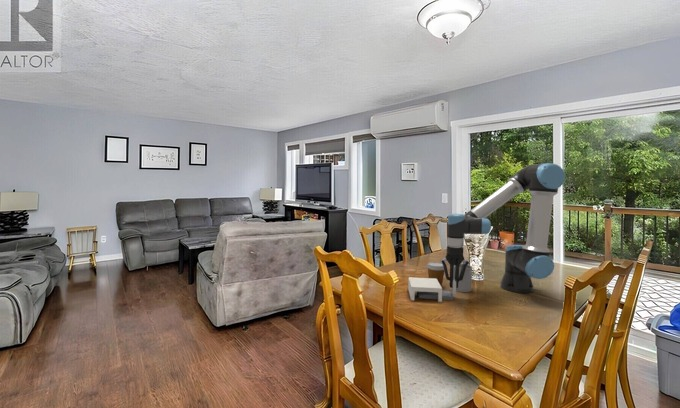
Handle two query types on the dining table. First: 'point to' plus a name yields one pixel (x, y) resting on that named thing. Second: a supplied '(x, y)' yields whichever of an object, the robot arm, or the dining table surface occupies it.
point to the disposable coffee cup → (436, 271)
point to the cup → (464, 279)
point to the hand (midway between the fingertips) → (453, 294)
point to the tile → (436, 295)
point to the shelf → (424, 286)
